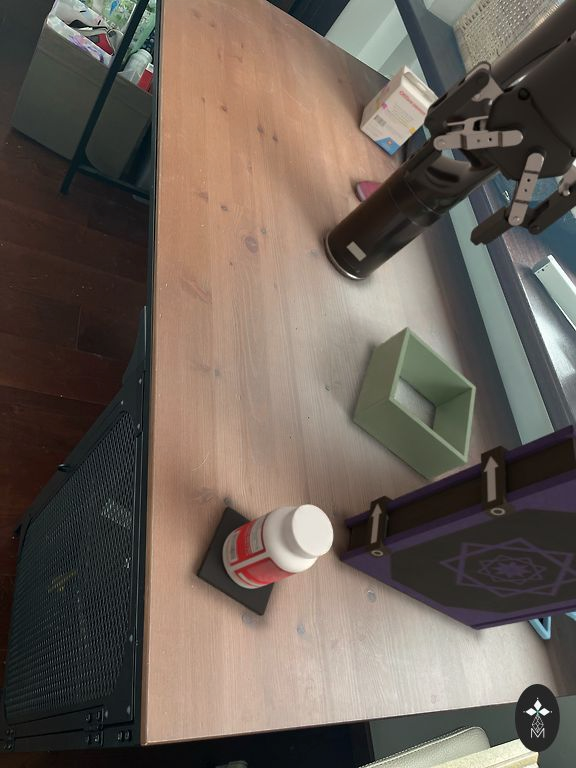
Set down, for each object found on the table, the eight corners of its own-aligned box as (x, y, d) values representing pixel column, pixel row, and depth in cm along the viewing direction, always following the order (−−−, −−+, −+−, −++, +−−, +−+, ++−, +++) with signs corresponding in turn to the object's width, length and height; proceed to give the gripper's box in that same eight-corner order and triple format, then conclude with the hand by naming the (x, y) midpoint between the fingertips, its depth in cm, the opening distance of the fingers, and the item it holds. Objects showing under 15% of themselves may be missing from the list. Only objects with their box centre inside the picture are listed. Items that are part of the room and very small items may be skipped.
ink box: (393, 135, 129) (442, 86, 120) (390, 156, 124) (441, 107, 114) (363, 108, 126) (411, 56, 117) (358, 128, 120) (408, 76, 111)
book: (475, 586, 83) (713, 526, 62) (476, 633, 79) (729, 587, 58) (342, 513, 74) (568, 416, 53) (335, 563, 70) (576, 478, 50)
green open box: (373, 349, 92) (407, 326, 87) (440, 406, 96) (476, 387, 91) (352, 420, 82) (388, 399, 78) (427, 480, 86) (467, 463, 82)
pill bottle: (280, 573, 64) (350, 547, 57) (237, 600, 60) (306, 576, 52) (254, 518, 65) (319, 486, 58) (210, 541, 61) (274, 509, 53)
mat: (225, 507, 65) (228, 505, 64) (283, 546, 67) (287, 545, 66) (196, 576, 59) (199, 574, 59) (260, 616, 61) (263, 615, 61)
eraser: (360, 204, 108) (367, 197, 107) (351, 185, 109) (358, 178, 108) (399, 208, 116) (406, 202, 115) (391, 190, 117) (397, 184, 116)
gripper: (661, 118, 49) (495, 237, 61) (548, -20, 45) (392, 135, 57) (674, 160, 44) (490, 281, 56) (547, 9, 40) (377, 173, 52)
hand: (441, 207), depth 56 cm, fingers open, 8 cm apart
